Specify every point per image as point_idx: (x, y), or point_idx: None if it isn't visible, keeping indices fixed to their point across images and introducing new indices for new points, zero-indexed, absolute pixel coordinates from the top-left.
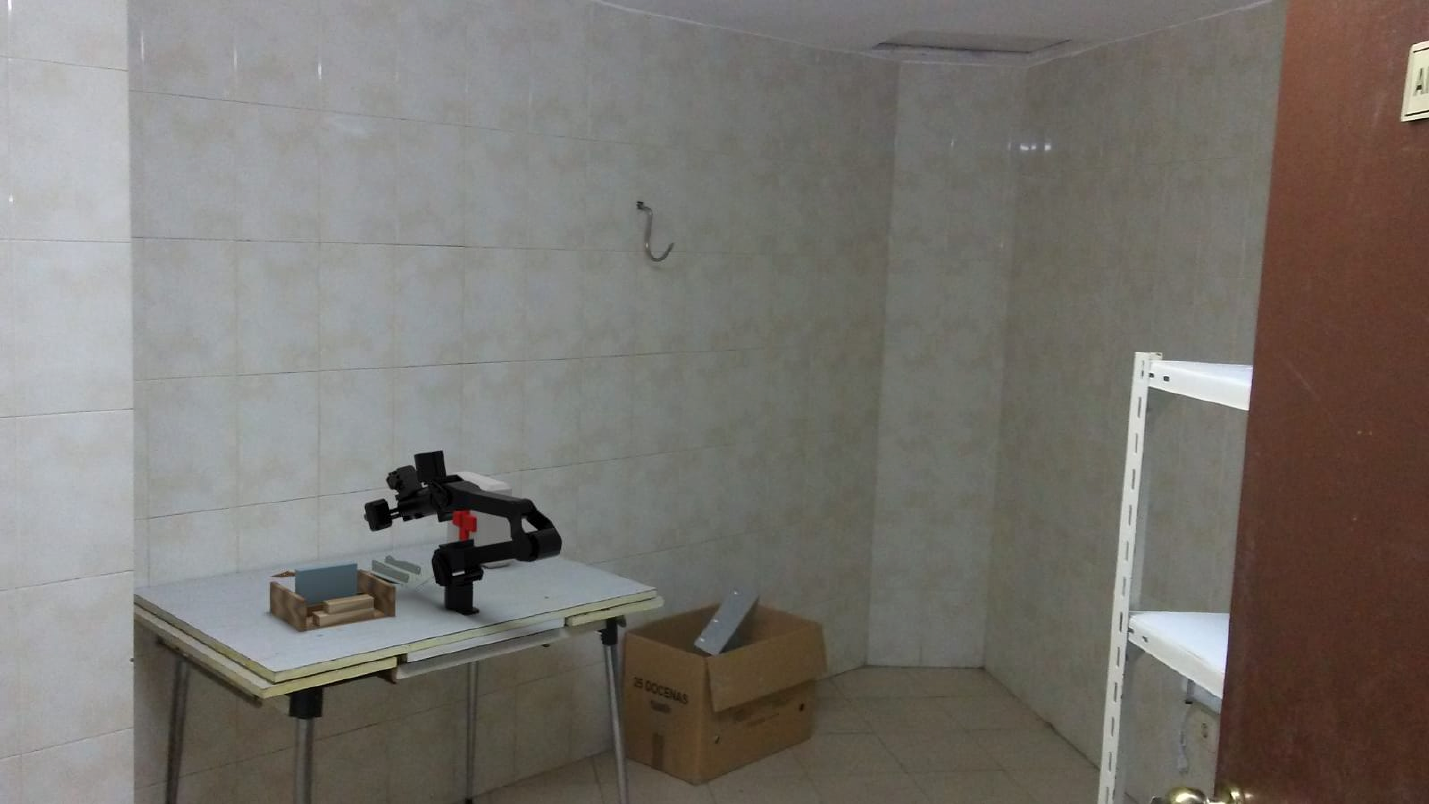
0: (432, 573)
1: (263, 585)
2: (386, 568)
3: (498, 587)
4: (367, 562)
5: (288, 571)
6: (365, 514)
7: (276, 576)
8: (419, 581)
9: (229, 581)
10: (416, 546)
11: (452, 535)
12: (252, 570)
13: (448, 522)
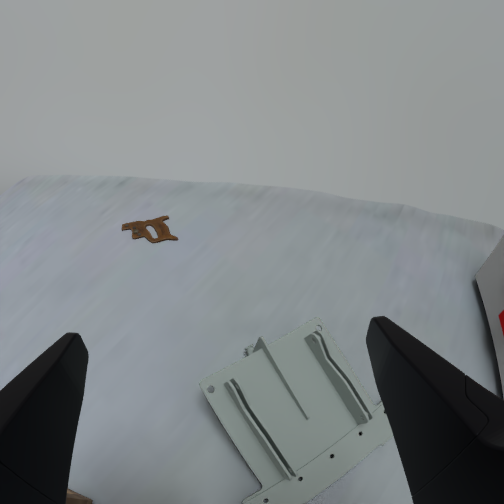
0: None
1: (76, 253)
2: (255, 415)
3: None
4: (324, 250)
5: (166, 218)
6: (45, 355)
7: (129, 228)
8: (329, 472)
9: (73, 209)
10: (434, 228)
11: (495, 273)
12: (141, 186)
13: (502, 243)
